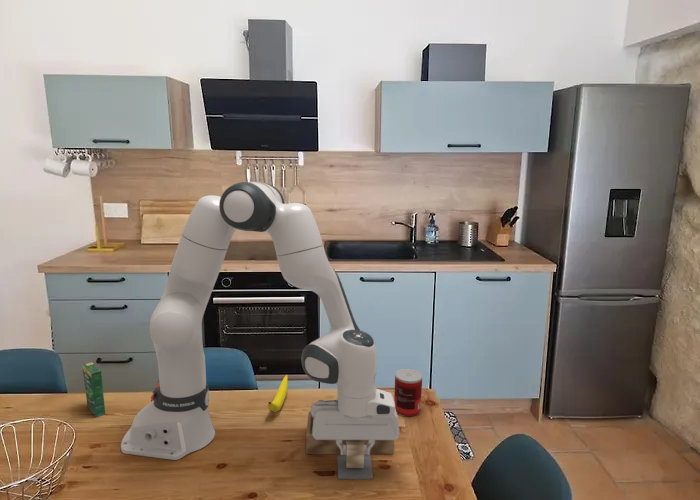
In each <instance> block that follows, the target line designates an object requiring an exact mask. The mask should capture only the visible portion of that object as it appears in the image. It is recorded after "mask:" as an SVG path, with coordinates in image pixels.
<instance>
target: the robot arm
mask: <svg viewBox="0 0 700 500" xmlns="http://www.w3.org/2000/svg"><path fill="white" fill-rule="evenodd" d="M237 230H240V231H243V232H244V231H245V232H256V233H257V232H259V233H265V232H266V233H268V235H269V236H270V238H271V240H272V242H273V246H274V250H275V253H276V259H277V264H278V266H279V271H280V272H281V275H282V277H283V279H284V281H286V282H287V283H289V284H290V285H291V286H293V287H296V288H297V289H300V290H307V291H311V292H312V293H315V294H316V295H317V296H318V297H319V298H320V300H321V302H322V305H323V307H324V311H325V313H326V316H327V319H328V321H329V324H330V325H329V326H330V329H329V332H328V333H327V334H325V335H323V336H320V337H319V338H317V339H315V340H313V341H311V342H310V343H309V344H307V345H305V347H304V348H303V350H302V352H301V357H300V358H301V365H302V369H303V371H304V373H305V375H306V376H307V377H308V378H310V379H311V380H313V381H315V382H318V383H323V384H327V385H328V384H329V385H337V387H336V389H337V393H336V394H337V396H336V397H337V399H329V400H327V399H326V400H325V399H324V400H323V399H319V400H317V401H315V402H313V404H311V406H310V411H311V415H312V417H313V418H314V420H313V429H312V430H311V434H312V436H313V437H314V438H315V439H316V440H336V444H337V445H338V447H339V448H340V449H341V454H340V456H346V455H347V445H343V443H342V440H369V442H368V443H367V445H364V456H371V454H370V449H371V448H372V446H373V445H374V444H375V440H394V441H397V440H398V438H400V422H399V416H398V413H397V412H396V409H395V401H394V396H393V393H391V392H388V391H386V390H382V389H378V388H377V386H376V381H375V380H376V376H377V372H378V356H377V355H378V354H377V346H376V343H375V339H374V337H372V335H370V334H369V333H367V332H366V331H363V330H360V328H359V325H357V322H356V321H355V318H354V315H353V312H352V310H351V307H350V304H349V301H348V298H347V294H346V292H345V290H344V286H343V283H342V281H341V278H340V277H339V274H338V272H337V271H336V270H335V268H334V267H332V265H331V263H330V261H329V260H328V257H327V254H326V250H325V247H324V243H323V239H322V235H321V231H320V229H319V226H318V224H317V220H316V218H315V215H314V214H313V212H312V209H311V208H310V207H308V205H306V204H303V203H301V202H289V203H286V201H285V199H284V196H283V194H282V192H281V191H280V190H279V189H278V188H277V187H275V186H274V185H272V184H270V183H266V182H262V181H256V180H255V181H254V180H253V181H239V182H236V183H233V184H232V185H230V186H229V187H227V188H226V189H225V190H224V191H223V193H222V195H221V196H219V195H213V194H210V195H205V196H202V197H200V198H199V199H198V200H197V202H196V204H195V205H194V207H193V208H192V210H191V212H190V213H189V216H188V218H187V221H186V222H185V225H184V228H183V230H182V232H181V235H180V238H179V241H178V244H177V247H176V250H175V254H174V256H173V258H172V262H171V265H170V269H169V271H168V272H169V273H168V276H167V279H166V283H165V286H164V289H163V292H162V295H161V297H160V299H159V302H158V303H157V305H156V307H155V309H154V310H153V312H152V313H151V316H150V319H149V334H150V338H151V340H152V343H153V348H154V350H155V354H156V359H157V365H158V366H157V367H158V378H159V381H158V382H157V383H156V385H155V388H154V390H153V391H152V394H151V396H150V402H149V403H148V404H147V405H145V406H144V407H143V408H142V409H140V410H139V411H138V413H137V414H136V415H135V417H134V418H133V420H132V423H131V426H130V428H129V429H128V430H127V432H126V433H125V434H124V435H123V437H122V439H121V442H120V450H121V453H123V454H127V455H133V456H134V455H135V456H141V457H149V458H156V459H157V458H158V459H165V460H171V461H177V460H180V459H181V458H184V457H186V455H188V454H191V453H193V452H196V451H199V450H201V449H203V448H204V447H207V445H209V444H210V443H211V442H212V441H213V440H214V438H215V436H216V430H215V427H214V426H213V423H212V422H213V421H212V418H211V415H210V414H211V413H210V410H209V404H210V390H209V383H208V382H207V374H206V373H207V371H206V356H205V352H204V347H203V346H204V345H203V337H202V321H203V317H204V315H205V311H206V308H207V305H208V303H209V300H210V298H211V294H212V292H213V290H214V287H215V284H216V282H217V279H218V277H219V274H220V271H221V268H222V266H223V263H224V260H225V257H226V256H227V255H226V254H227V252H228V249H229V246H230V244H231V241H232V238H233V237H234V236H233V235H234V234H235V233H236V231H237Z"/></svg>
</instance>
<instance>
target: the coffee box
mask: <svg viewBox="0 0 700 500" xmlns="http://www.w3.org/2000/svg"><path fill="white" fill-rule="evenodd" d="M81 367H82V374H83V383H84V391H85V397H86V405H87V409H89V410H90V411H91V413H92V414H93V416H94V417H96V418H97V417H101V416H103V415H106V408H105V397H104V396H105V395H104V389H103V388H104V387H103V376H102V370H101V369H100V368H99V367H98V366H97V365H96V364H95V363H93V362H91V361H90V362H86V363H84V364H82V365H81Z"/></svg>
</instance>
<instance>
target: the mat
mask: <svg viewBox="0 0 700 500" xmlns="http://www.w3.org/2000/svg"><path fill="white" fill-rule="evenodd" d="M373 478H374V474H373V466H372V456H371V455H364V468H346V455H337V479H338V480H373Z"/></svg>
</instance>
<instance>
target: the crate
mask: <svg viewBox="0 0 700 500" xmlns="http://www.w3.org/2000/svg"><path fill="white" fill-rule="evenodd" d="M313 420H314V418H313V417H312V415H311V410H308V415H307V424H306V434H305V435H306V437H305V439H306V440H305V450H306V451H305V455H341V449H340V448H339V447H338V445H337V444H336V440H316V439H315V438H314V437H313V436H312V429H313ZM368 442H369V440H364V445H367V443H368ZM342 443H343V445H346V440H342ZM394 450H395V440H375V444H374V445H373V446H372V448H371V449H370V455H394Z"/></svg>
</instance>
